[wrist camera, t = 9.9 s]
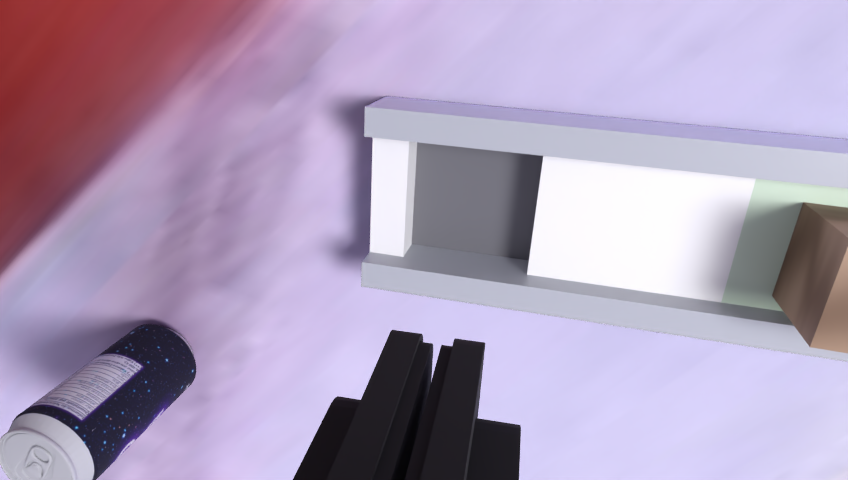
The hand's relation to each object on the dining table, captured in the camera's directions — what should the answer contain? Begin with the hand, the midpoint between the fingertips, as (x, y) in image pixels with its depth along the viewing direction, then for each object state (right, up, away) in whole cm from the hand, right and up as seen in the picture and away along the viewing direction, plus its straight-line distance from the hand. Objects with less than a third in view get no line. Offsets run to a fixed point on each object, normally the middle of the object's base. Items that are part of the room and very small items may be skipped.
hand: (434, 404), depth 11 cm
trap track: (+14, +4, +21) cm, 26 cm away
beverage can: (-19, -5, +33) cm, 38 cm away
